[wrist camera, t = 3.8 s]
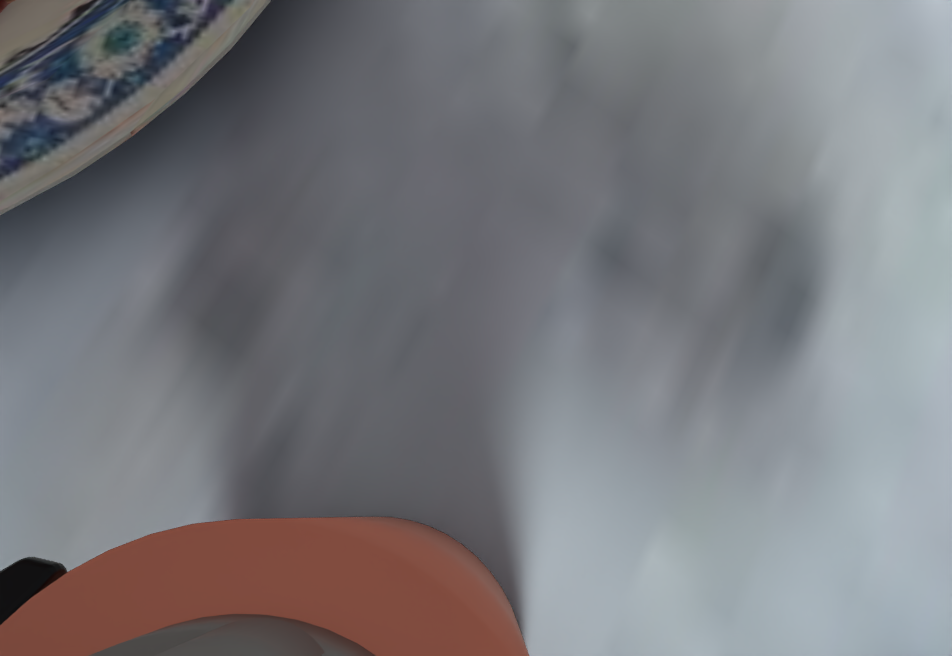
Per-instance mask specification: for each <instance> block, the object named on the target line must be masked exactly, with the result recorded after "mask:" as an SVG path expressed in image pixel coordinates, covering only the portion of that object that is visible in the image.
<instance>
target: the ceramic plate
mask: <svg viewBox="0 0 952 656" xmlns="http://www.w3.org/2000/svg"><path fill="white" fill-rule="evenodd" d="M270 2H271V0H0V215H2V214H3V213H5V212H7V211H9V210H11V209H13V208H15V207H17V206H18V205H20V204H22V203H24V202H26V201H28V200H30V199H32V198H33V197H35V196H37V195H39V194H41V193H43V192H45V191H46V190H48V189H50V188H52V187H54V186H56V185H58V184H60V183H61V182H63V181H65V180H67V179H69V178H71V177H73V176H74V175H76V174H78V173H79V172H80V171H82V170H83V169H85V168H86V167H88V166H89V165H91V164H92V163H94V162H95V161H97V160H98V159H100V158H101V157H103V156H104V155H106V154H107V153H109V152H110V151H112V150H113V149H115V148H116V147H118V146H119V145H121V144H122V143H123V142H125V141H126V140H128V139H129V138H131V137H132V136H134V135H135V134H136V133H137V132H139V131H140V130H141V129H142V128H143V127H145V126H146V125H147V124H148V123H150V122H151V121H152V120H153V119H155V118H156V117H157V116H158V115H160V114H161V113H162V112H163V111H164V110H166V109H167V108H168V107H169V106H171V105H172V104H173V103H174V102H176V101H177V100H178V99H179V98H181V97H182V96H183V95H184V94H185V93H186V92H187V91H188V90H189V89H190V88H191V87H193V86H194V85H195V84H196V83H197V82H198V81H199V80H200V79H201V78H202V77H203V76H204V75H205V74H206V73H207V72H208V71H209V70H210V69H211V68H212V67H213V66H214V65H215V64H216V63H217V62H218V61H219V60H220V59H221V58H222V57H223V56H224V55H225V54H226V53H228V52H229V51H230V50H231V49H232V47H233V46H234V45H235V44H236V43H237V41H238V40H239V39H240V38H241V37H242V35H243V34H244V33H245V32H246V31H247V29H248V28H249V27H250V26H251V24H252V23H253V22H254V21H255V20H256V18H257V17H258V16H259V15H260V14H261V12H262V11H263V10H264V9H265V8H266V6H267V5H268V4H269V3H270Z"/></svg>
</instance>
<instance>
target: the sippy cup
mask: <svg viewBox="0 0 952 656" xmlns="http://www.w3.org/2000/svg"><path fill="white" fill-rule="evenodd" d="M0 656H529V654H528V651H527V648H526V645H525V642H524V640H523V637H522V634H521V631H520V628H519V626H518V623H517V620H516V617H515V615H514V612H513V609H512V607H511V605H510V603H509V601H508V599H507V597H506V595H505V593H504V591H503V589H502V587H501V586H500V585H499V583H498V582H497V580H496V579H495V578H494V576H493V575H492V573H491V572H490V571H489V570H488V568H487V567H486V566H485V565H484V564H483V563H482V562H481V561H480V560H479V559H478V558H477V556H475V555H474V554H473V553H472V552H471V551H469V550H468V549H467V548H466V547H465V546H463V545H462V544H461V543H459V542H458V541H456V540H454V539H453V538H451V537H450V536H448V535H447V534H445V533H443V532H441V531H438V530H436V529H434V528H432V527H430V526H427V525H424V524H421V523H417V522H414V521H411V520H406V519H400V518H393V517H324V518H272V519H234V520H224V521H215V522H206V523H196V524H190V525H186V526H182V527H178V528H174V529H170V530H166V531H162V532H158V533H153V534H150V535H147V536H144V537H142V538H139V539H137V540H134V541H131V542H129V543H126V544H124V545H121V546H118V547H116V548H113V549H111V550H108V551H106V552H104V553H103V554H101V555H99V556H97V557H95V558H93V559H91V560H89V561H88V562H86V563H84V564H82V565H80V566H78V567H76V568H74V569H73V570H71V571H69V572H67V573H66V574H64V575H63V576H62V577H60V578H59V579H57V580H56V581H54V582H53V583H52V584H50V585H49V586H47V587H46V588H44V589H43V590H42V591H40V592H39V593H37V594H36V595H35V596H33V597H32V598H30V599H29V600H28V601H27V602H26V603H25V604H23V605H22V606H21V607H20V608H19V609H18V610H17V611H16V612H15V613H13V614H12V615H11V616H10V617H9V618H8V619H7V620H6V621H4V622H3V623H2V624H1V625H0Z"/></svg>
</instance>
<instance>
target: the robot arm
mask: <svg viewBox="0 0 952 656" xmlns="http://www.w3.org/2000/svg"><path fill="white" fill-rule="evenodd" d="M66 573H67V570H66V568H65V567H64V566H63V565H62V564H61V563H57V562H53V561H49V560H45V559H41V558H36V557H27V558H23V559H21V560H19V561H17V562H15V563H13V564H12V565H10V566H8V567H7V568H5V569H3V570H2V571H0V625H1V624H2V623H3V622H4V621H6V620H7V619H8V618H9V617H10V616H11V615H12V614H13V613H15V612H16V611H17V610H18V609H19V608H20V607H21V606H22V605H23V604H25V603H26V602H27V601H28V600H29V599H30V598H32V597H33V596H35V595H36V594H37V593H39V592H40V591H42V590H43V589H44V588H46V587H47V586H49V585H50V584H52V583H53V582H54V581H56V580H57V579H59V578H60V577H62V576H63V575H64V574H66Z"/></svg>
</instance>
